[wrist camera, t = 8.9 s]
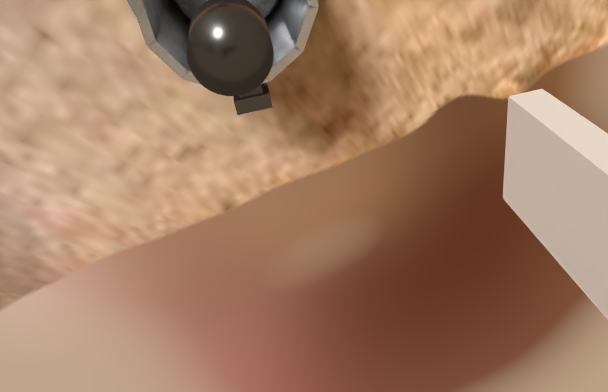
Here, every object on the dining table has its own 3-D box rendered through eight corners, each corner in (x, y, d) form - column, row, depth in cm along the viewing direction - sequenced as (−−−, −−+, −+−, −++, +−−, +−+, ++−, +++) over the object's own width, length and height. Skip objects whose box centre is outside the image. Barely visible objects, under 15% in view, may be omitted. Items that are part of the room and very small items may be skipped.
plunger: (187, 40, 39) (167, 157, 23) (152, -76, 34) (97, -26, 19) (289, 17, 39) (337, 119, 23) (266, -101, 35) (307, -72, 19)
